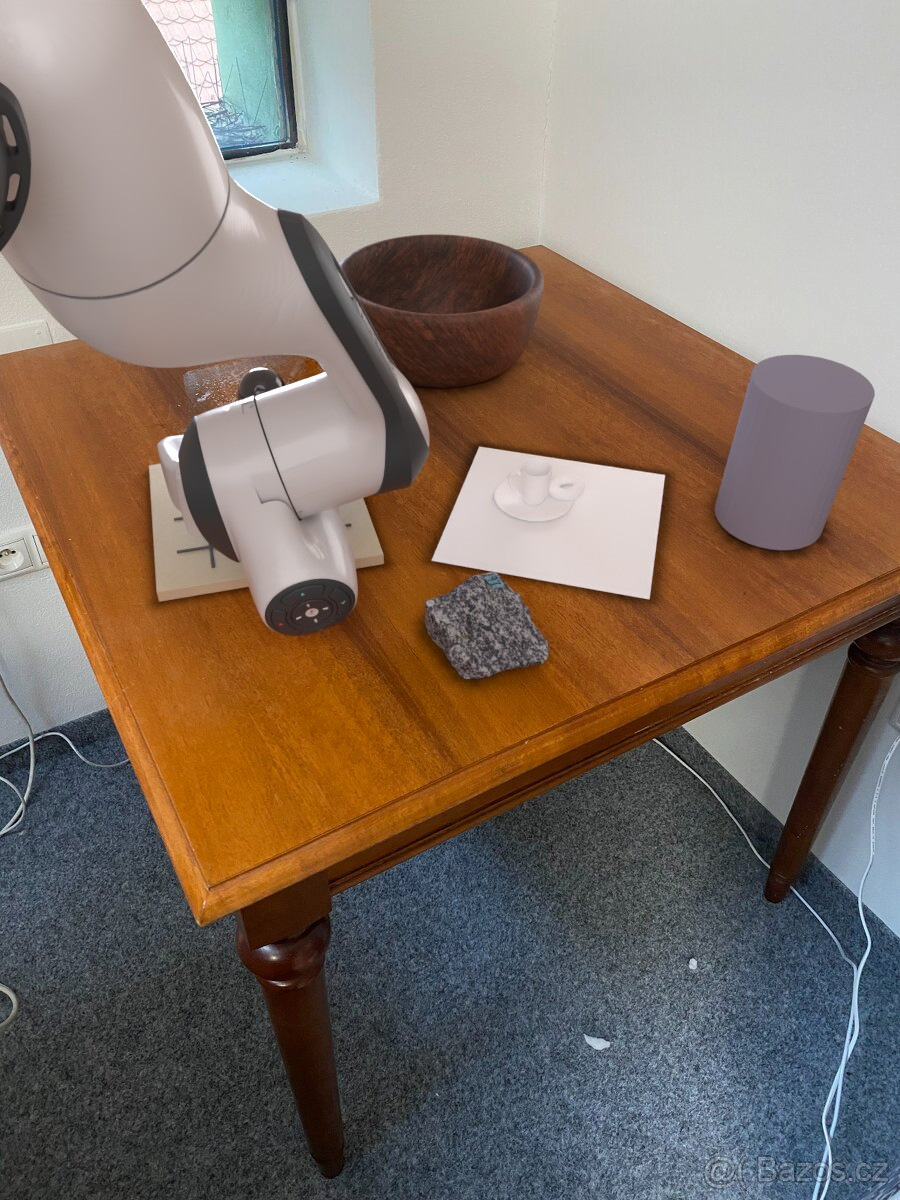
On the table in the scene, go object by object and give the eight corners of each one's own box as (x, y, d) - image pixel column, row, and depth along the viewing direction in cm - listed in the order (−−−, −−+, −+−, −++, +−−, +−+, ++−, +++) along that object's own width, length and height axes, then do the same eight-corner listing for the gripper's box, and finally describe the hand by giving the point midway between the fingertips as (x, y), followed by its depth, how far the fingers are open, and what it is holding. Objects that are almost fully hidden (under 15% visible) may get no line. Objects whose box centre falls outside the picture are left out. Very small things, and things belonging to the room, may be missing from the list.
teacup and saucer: (585, 486, 90) (591, 452, 87) (574, 532, 84) (579, 497, 81) (502, 472, 91) (504, 439, 89) (486, 517, 86) (487, 482, 83)
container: (752, 562, 81) (798, 421, 71) (693, 500, 89) (728, 364, 78) (843, 540, 84) (901, 402, 74) (780, 481, 91) (824, 348, 81)
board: (159, 602, 76) (155, 591, 75) (150, 473, 90) (148, 462, 89) (384, 564, 80) (383, 553, 79) (342, 447, 94) (341, 436, 94)
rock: (466, 703, 68) (468, 665, 65) (418, 619, 75) (417, 582, 72) (552, 675, 70) (558, 638, 68) (498, 596, 77) (500, 560, 74)
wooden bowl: (403, 294, 124) (402, 219, 117) (567, 335, 115) (576, 257, 108) (300, 368, 107) (291, 286, 100) (482, 422, 99) (486, 337, 92)
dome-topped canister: (251, 480, 87) (236, 385, 80) (246, 454, 91) (231, 361, 84) (299, 473, 88) (288, 379, 81) (292, 448, 92) (281, 355, 85)
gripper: (396, 446, 77) (363, 372, 87) (156, 479, 73) (150, 397, 82) (397, 504, 81) (366, 427, 91) (171, 539, 77) (164, 454, 87)
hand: (262, 413), depth 87 cm, fingers open, 8 cm apart
